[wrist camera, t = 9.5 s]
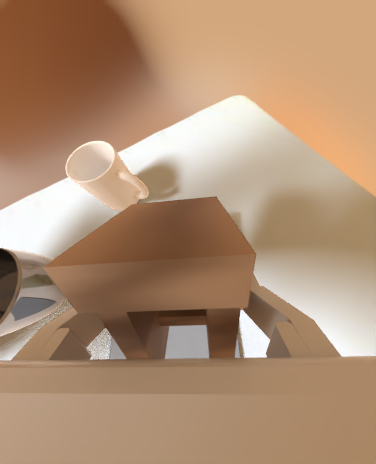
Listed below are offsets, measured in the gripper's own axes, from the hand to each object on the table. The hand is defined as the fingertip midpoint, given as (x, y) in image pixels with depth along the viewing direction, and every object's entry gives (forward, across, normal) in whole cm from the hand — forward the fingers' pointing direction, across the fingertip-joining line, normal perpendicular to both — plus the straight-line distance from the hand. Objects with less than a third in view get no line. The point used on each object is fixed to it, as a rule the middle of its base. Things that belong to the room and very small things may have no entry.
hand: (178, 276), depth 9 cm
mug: (+24, +13, 0) cm, 28 cm away
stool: (+3, 0, +4) cm, 5 cm away
